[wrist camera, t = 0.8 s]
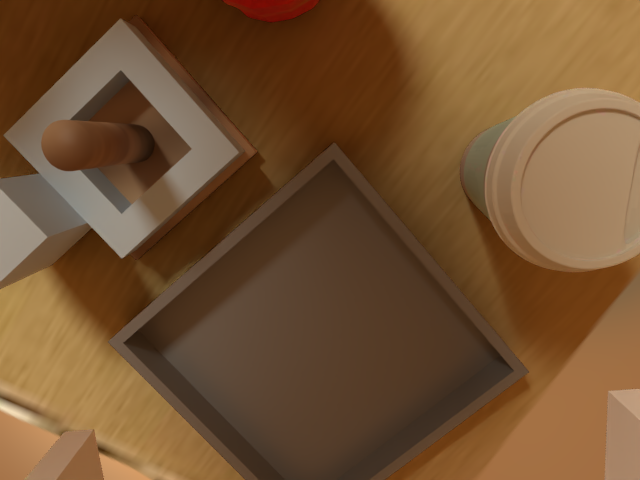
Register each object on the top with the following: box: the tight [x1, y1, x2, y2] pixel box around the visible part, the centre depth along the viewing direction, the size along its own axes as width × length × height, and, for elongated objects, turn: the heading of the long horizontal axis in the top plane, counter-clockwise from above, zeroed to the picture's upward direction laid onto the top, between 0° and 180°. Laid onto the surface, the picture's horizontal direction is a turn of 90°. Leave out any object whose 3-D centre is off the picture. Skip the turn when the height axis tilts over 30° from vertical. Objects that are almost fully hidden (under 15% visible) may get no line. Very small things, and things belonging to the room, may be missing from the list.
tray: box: [108, 142, 529, 480], centre depth 35 cm, size 19×19×3 cm
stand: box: [41, 15, 258, 260], centre depth 29 cm, size 11×11×10 cm
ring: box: [0, 18, 245, 289], centre depth 30 cm, size 10×15×7 cm, turn 131°
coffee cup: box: [460, 88, 640, 272], centre depth 28 cm, size 8×8×12 cm
